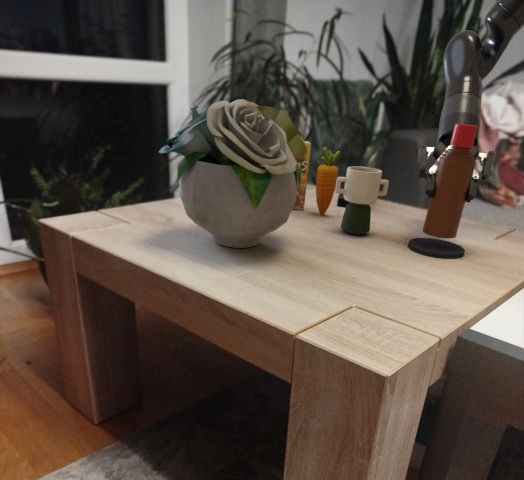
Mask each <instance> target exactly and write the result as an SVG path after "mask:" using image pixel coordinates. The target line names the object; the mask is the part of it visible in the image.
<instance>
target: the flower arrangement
mask: <svg viewBox="0 0 524 480" xmlns="http://www.w3.org/2000/svg"><path fill="white" fill-rule="evenodd" d="M198 109H199V106H198V105H197V104H196V103H195V104H193V107H192V108H190V111H191V119H190V120H189V121H187V122H186V124H185V125H184V126H183V127H182V128H181V129H178V130H177V131H176V132H175V133H173V134H174V137H170V138H169V139H166V140H165V141H164V143H165V144H166V145H164V146H163V147H162V148H160V150H159V151H158V153H159V154H161V155H162V154H168V153H169V154H170V153H175V154H177V155H180V156H182V157H183V158H182V159H181V160H180V161H179V162H178V163H177V169H176V170H177V171H176V185H178V184H179V187H178V188H179V196H180V200H181V203H182V206H183V208H184V211H185V214H186V216H187V217H188V218H189V219H190V220H191V221H192V222H193V223H194V224H195V225H197V227H200V228H201V229H203V230H205V231H207V232H208V233H209V234H211V237H212V240H213V241H214V242H215V243H216V244H218V245H219V246H223V247H227V248H235V249H246V248H252V247H254V246H257V245H258V244H259V242H260V240H261V238H262V237H263V236H266V235H267V234H270V233H273V232H276V231H277V230H278V229H280V228H281V227H282V226H284V225H285V224H286V223H287V222H288V220H289V219H290V215H291V214H292V211H293V210H294V209H293V207H294V204H295V202H296V195H297V187H298V184H299V189H300V184H301V175H302V168H301V167H300V166H299V165H298V164H297V161H296V160H295V158H294V157H300V156H302V155H303V154H304V153H305V152H306V150H307V148H306V145H305V142H304V141H305V140H304V139H303V133H302V131H300V130H299V129H298V128H297V127H296V126H295V124H294V123H293V121H292V119H291V117H290V115H289V114H288V112H287V110H285V109H280V110H279V109H278V108H276V107H273V106H267V105H266V106H265V105H264V106H262V105H258V104H257V103H254V102H253V101H249V100H246V99H245V98H241V99H235V100H233V99H227V100H219V101H216V102H214V103H211V104H210V105H209V106H206V108H204V109H202V110H201V111H200V112H199V111H198ZM297 178H298V182H297Z"/></svg>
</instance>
